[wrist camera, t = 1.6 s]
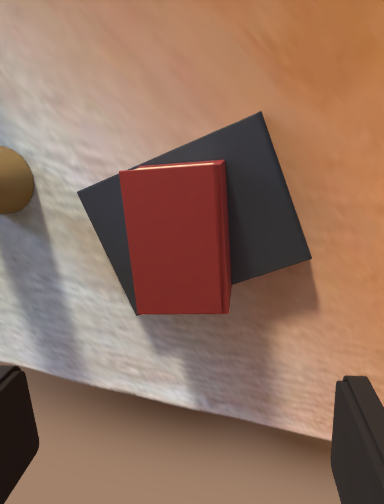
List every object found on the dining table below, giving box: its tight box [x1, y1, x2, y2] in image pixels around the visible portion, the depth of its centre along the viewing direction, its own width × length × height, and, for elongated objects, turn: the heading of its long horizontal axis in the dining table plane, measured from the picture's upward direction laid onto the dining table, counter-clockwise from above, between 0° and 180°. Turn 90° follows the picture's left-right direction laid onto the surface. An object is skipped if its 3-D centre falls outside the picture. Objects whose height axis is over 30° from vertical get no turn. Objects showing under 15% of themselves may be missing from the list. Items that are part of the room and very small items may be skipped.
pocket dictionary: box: [119, 160, 232, 314], centre depth 28 cm, size 7×10×5 cm, turn 4°
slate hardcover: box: [77, 112, 312, 316], centre depth 31 cm, size 16×12×2 cm
